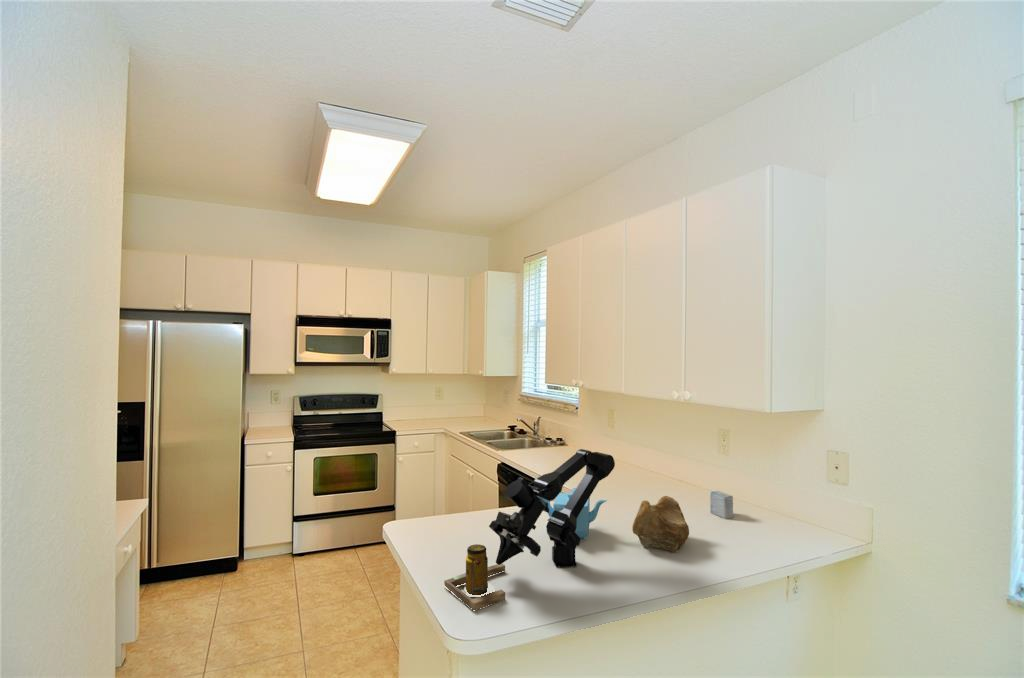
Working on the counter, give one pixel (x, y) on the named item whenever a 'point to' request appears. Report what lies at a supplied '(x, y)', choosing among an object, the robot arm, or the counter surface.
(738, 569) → the counter surface
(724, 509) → the medicine box
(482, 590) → the condiment
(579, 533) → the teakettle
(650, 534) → the rough brown rock
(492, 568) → the rail bay
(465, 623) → the counter surface
